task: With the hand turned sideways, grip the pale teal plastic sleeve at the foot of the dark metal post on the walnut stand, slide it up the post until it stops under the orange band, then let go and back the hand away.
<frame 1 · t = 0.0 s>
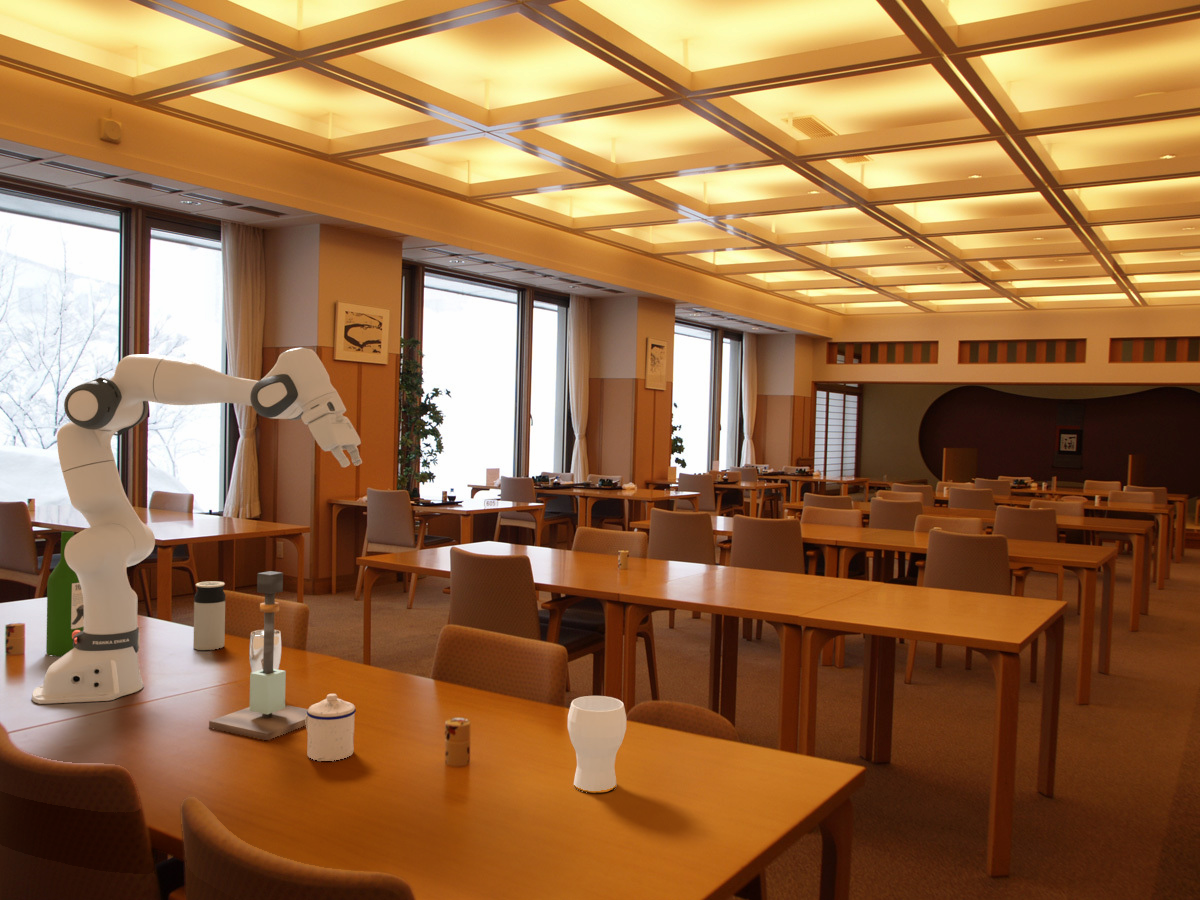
hand: (352, 465, 212), 54 cm above the table, tool tilted 30°, fingers open, 8 cm apart
marker sleeve: (267, 690, 194), point 7 cm above the table, slide at 0.0 cm
beer glass: (264, 697, 213), on the table
cup: (595, 786, 166), on the table
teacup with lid: (325, 753, 179), on the table
post stand: (267, 723, 195), on the table
travel mug: (208, 648, 257), on the table
wine bottle: (65, 653, 247), on the table
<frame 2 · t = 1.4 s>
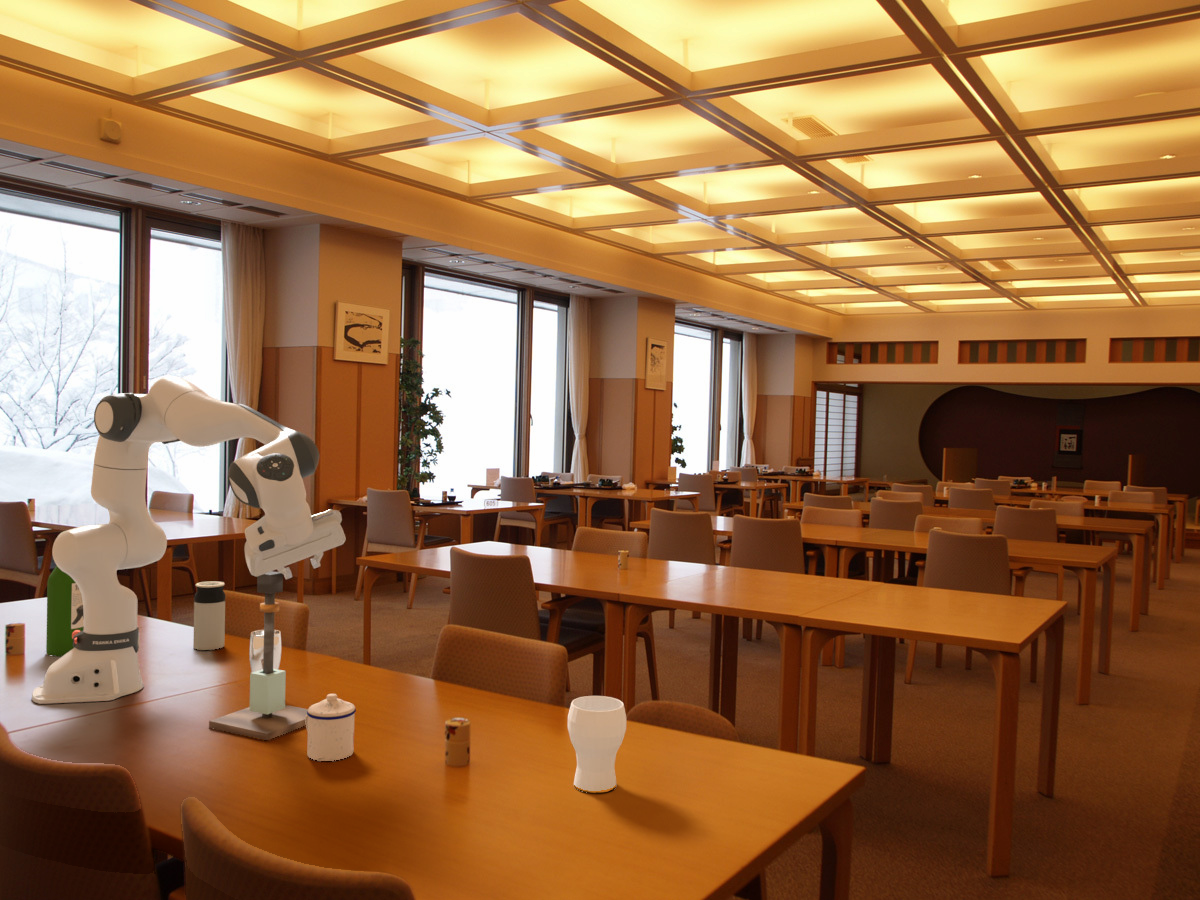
hand: (302, 571, 197), 32 cm above the table, tool tilted 40°, fingers open, 5 cm apart
nothing on the table moved.
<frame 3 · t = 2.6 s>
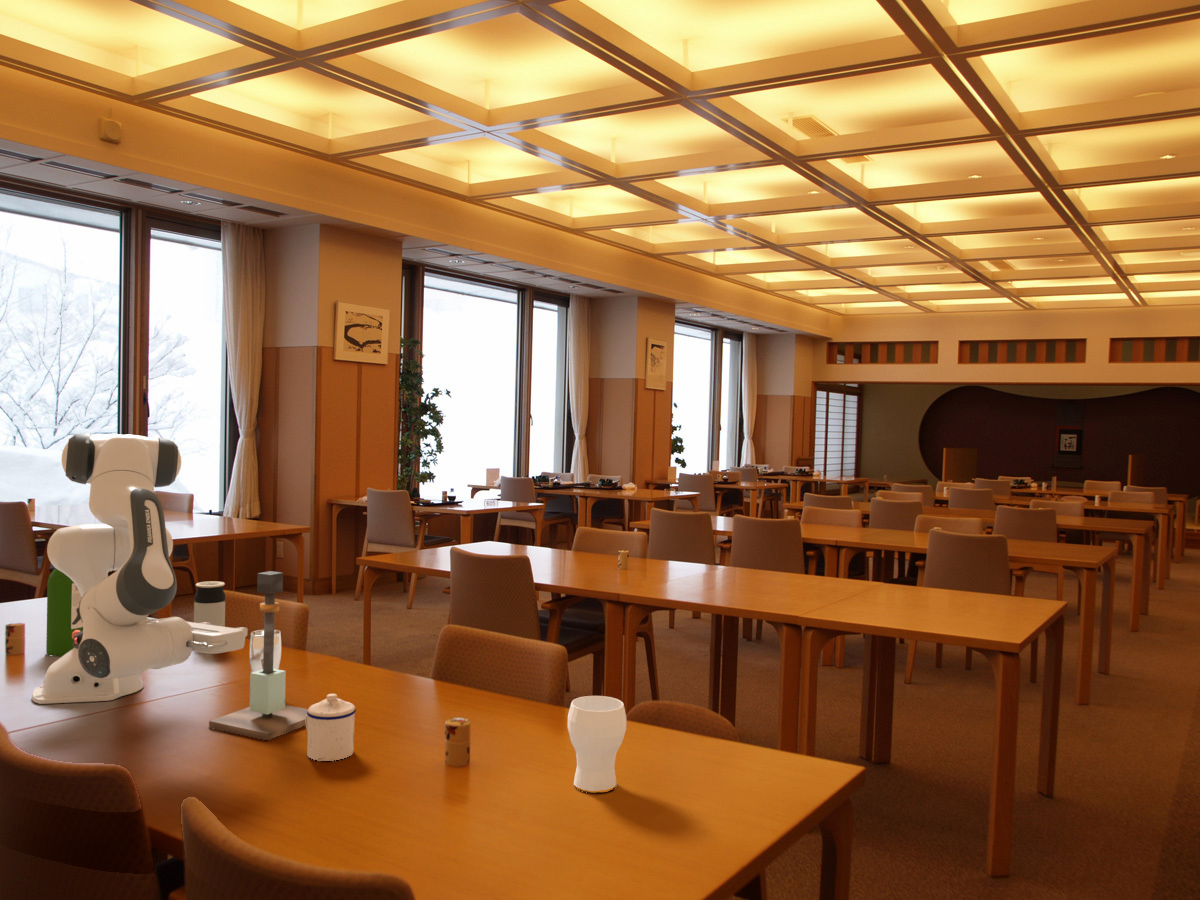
hand: (226, 628, 183), 22 cm above the table, tool horizontal, fingers open, 8 cm apart
nothing on the table moved.
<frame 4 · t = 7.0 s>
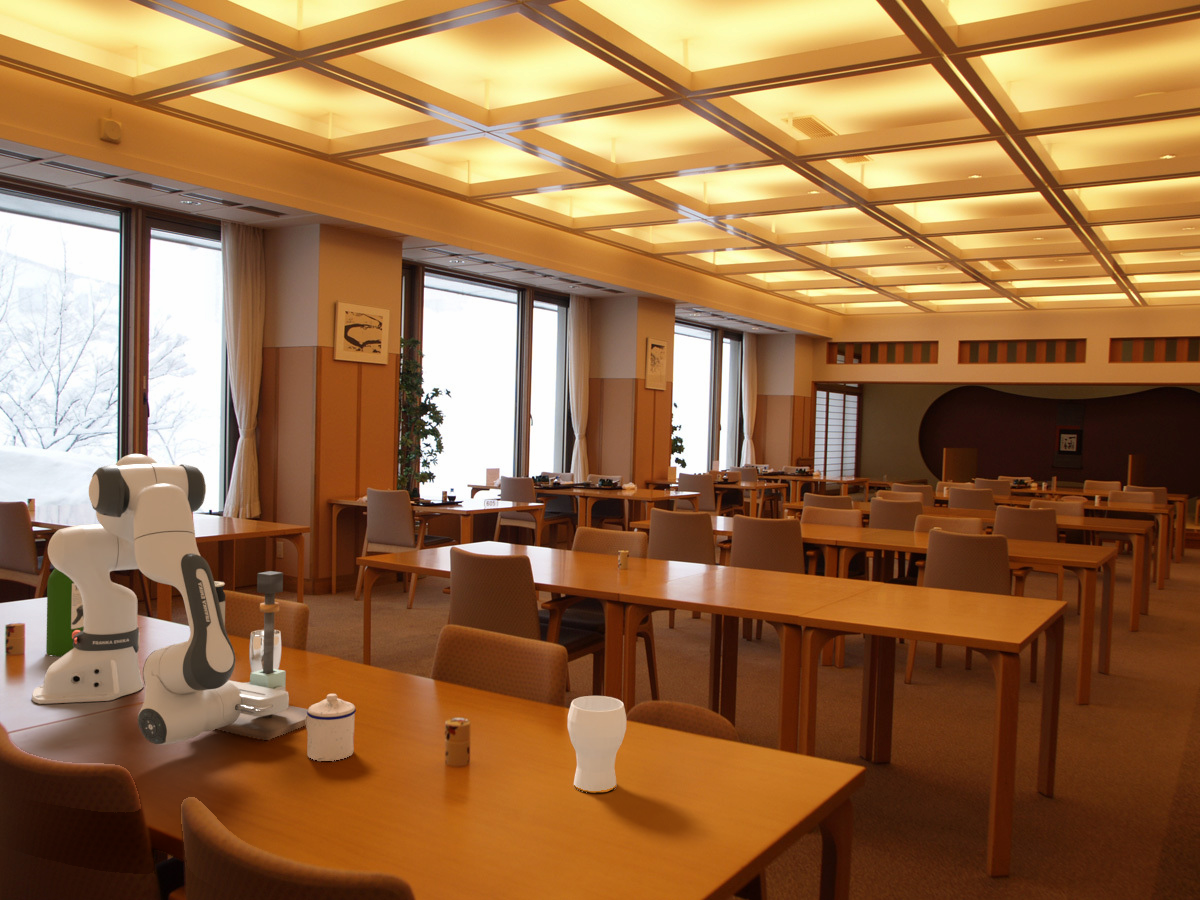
hand: (270, 687, 195), 8 cm above the table, tool horizontal, fingers closed on marker sleeve, 5 cm apart
marker sleeve: (267, 690, 194), point 7 cm above the table, slide at 0.0 cm, touching gripper
everything else where it was.
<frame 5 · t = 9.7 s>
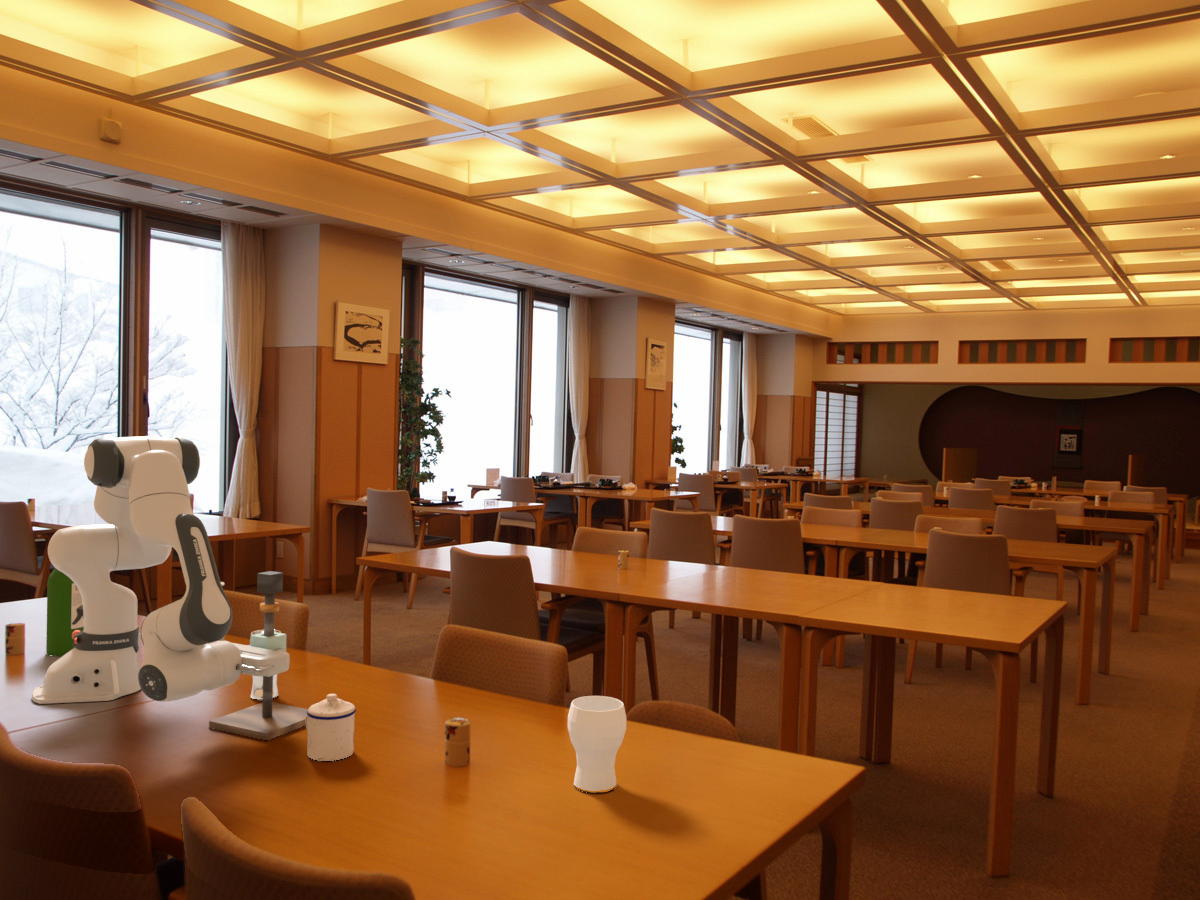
hand: (271, 650, 195), 15 cm above the table, tool horizontal, fingers closed on marker sleeve, 5 cm apart
marker sleeve: (268, 653, 194), point 15 cm above the table, slide at 7.9 cm, touching gripper
everything else where it was.
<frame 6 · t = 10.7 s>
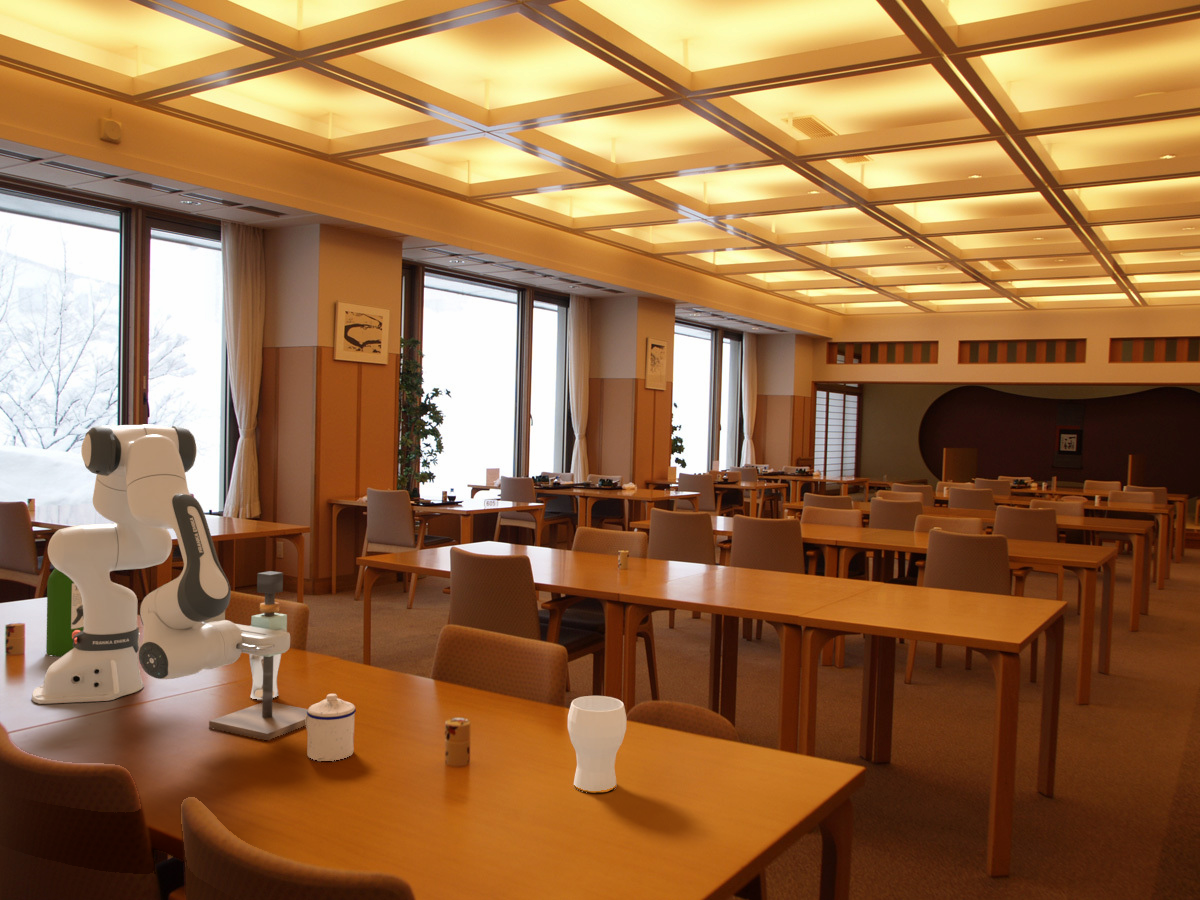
hand: (272, 630, 195), 20 cm above the table, tool horizontal, fingers closed on marker sleeve, 5 cm apart
marker sleeve: (268, 634, 194), point 19 cm above the table, slide at 12.0 cm, touching gripper
everything else where it was.
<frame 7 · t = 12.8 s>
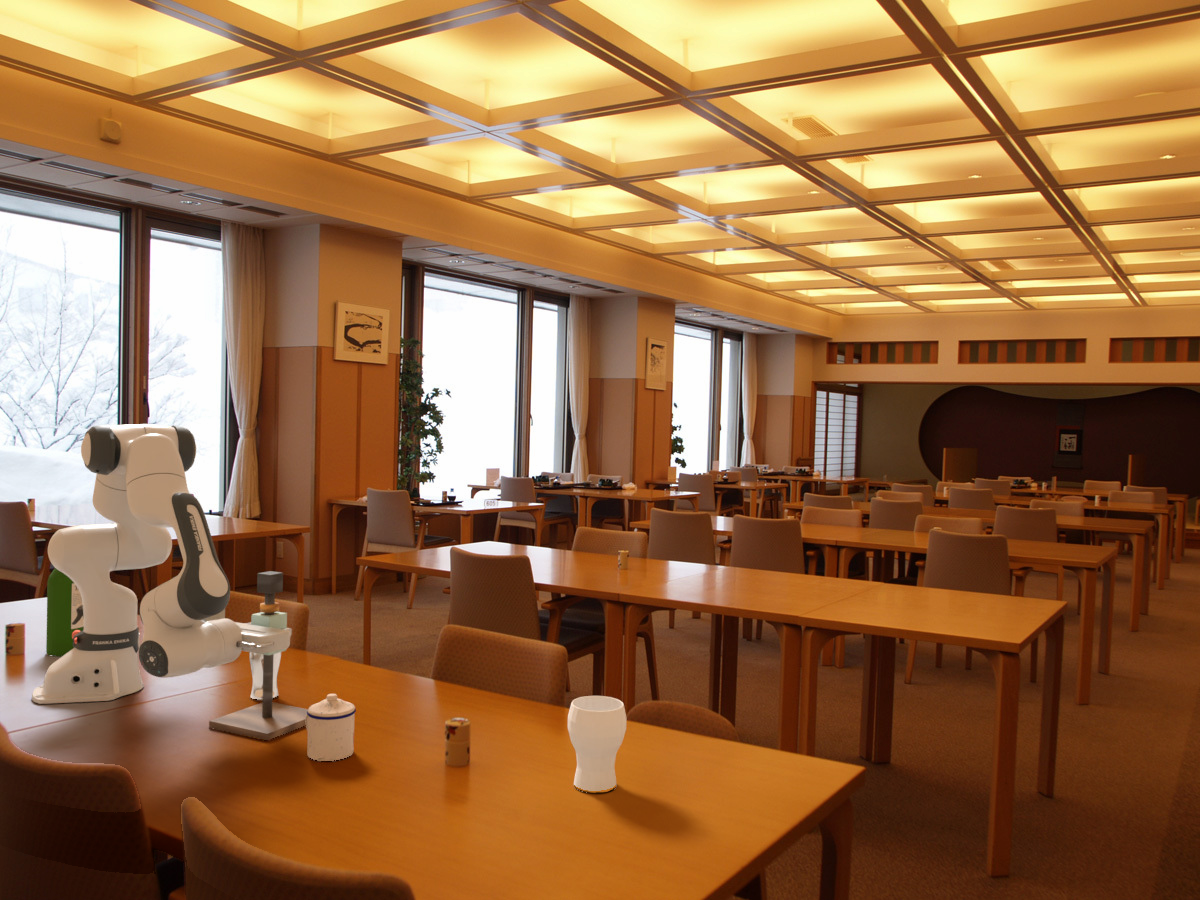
hand: (272, 628, 195), 20 cm above the table, tool horizontal, fingers open, 8 cm apart
marker sleeve: (269, 632, 194), point 19 cm above the table, slide at 12.4 cm
everything else where it was.
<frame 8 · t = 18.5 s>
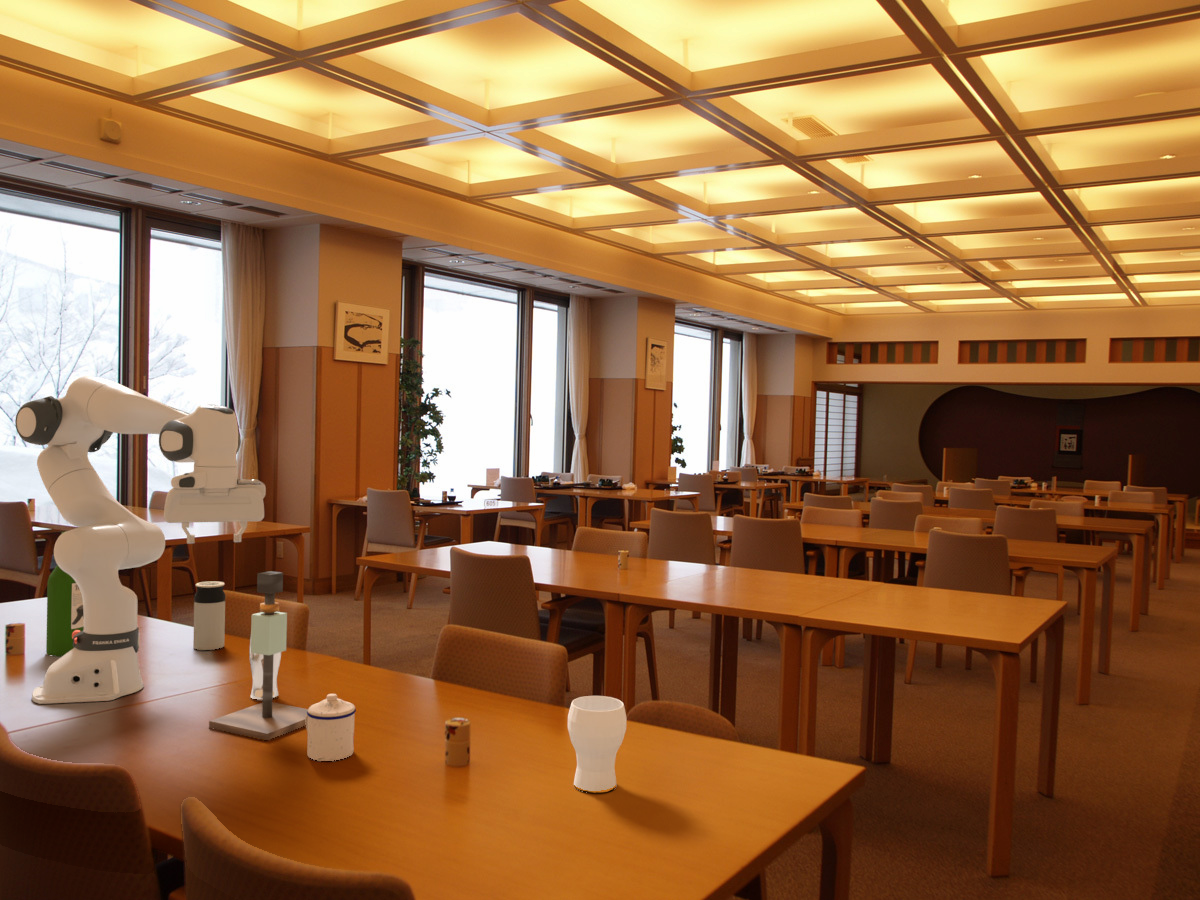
hand: (214, 542, 201), 37 cm above the table, tool pointing down, fingers open, 8 cm apart
nothing on the table moved.
at the end: marker sleeve slide at 12.4 cm; the gripper is holding nothing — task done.
